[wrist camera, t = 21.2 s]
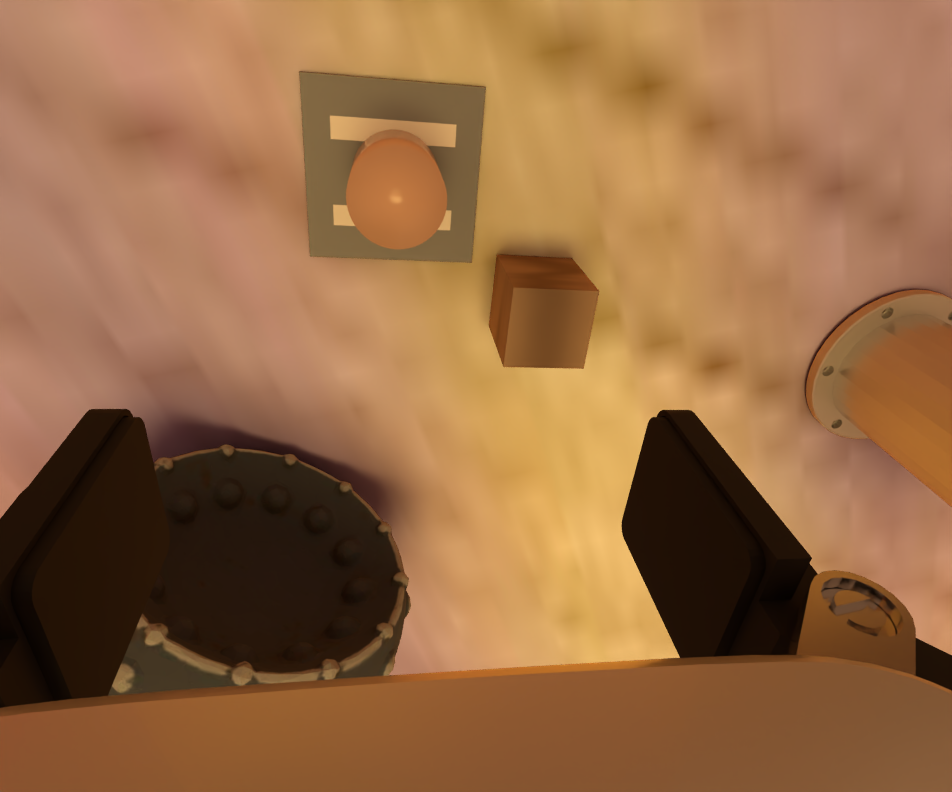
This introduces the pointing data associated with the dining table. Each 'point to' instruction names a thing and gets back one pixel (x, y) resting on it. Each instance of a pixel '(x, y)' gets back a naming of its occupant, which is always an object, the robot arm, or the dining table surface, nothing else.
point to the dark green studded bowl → (265, 579)
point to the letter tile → (368, 112)
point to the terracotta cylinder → (396, 190)
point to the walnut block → (541, 312)
